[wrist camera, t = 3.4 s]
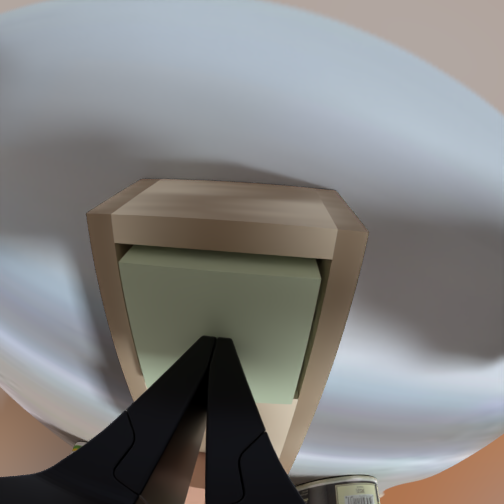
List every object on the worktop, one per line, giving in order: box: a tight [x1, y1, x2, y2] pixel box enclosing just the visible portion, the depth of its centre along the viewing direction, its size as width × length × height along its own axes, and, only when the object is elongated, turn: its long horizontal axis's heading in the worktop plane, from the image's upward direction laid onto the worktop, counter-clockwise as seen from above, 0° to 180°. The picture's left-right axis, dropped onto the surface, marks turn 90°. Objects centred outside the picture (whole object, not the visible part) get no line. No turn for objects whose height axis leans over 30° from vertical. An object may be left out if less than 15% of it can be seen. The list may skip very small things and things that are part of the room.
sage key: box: [118, 244, 321, 404], centre depth 10 cm, size 5×5×4 cm
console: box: [86, 179, 369, 475], centre depth 15 cm, size 7×29×4 cm, turn 177°
